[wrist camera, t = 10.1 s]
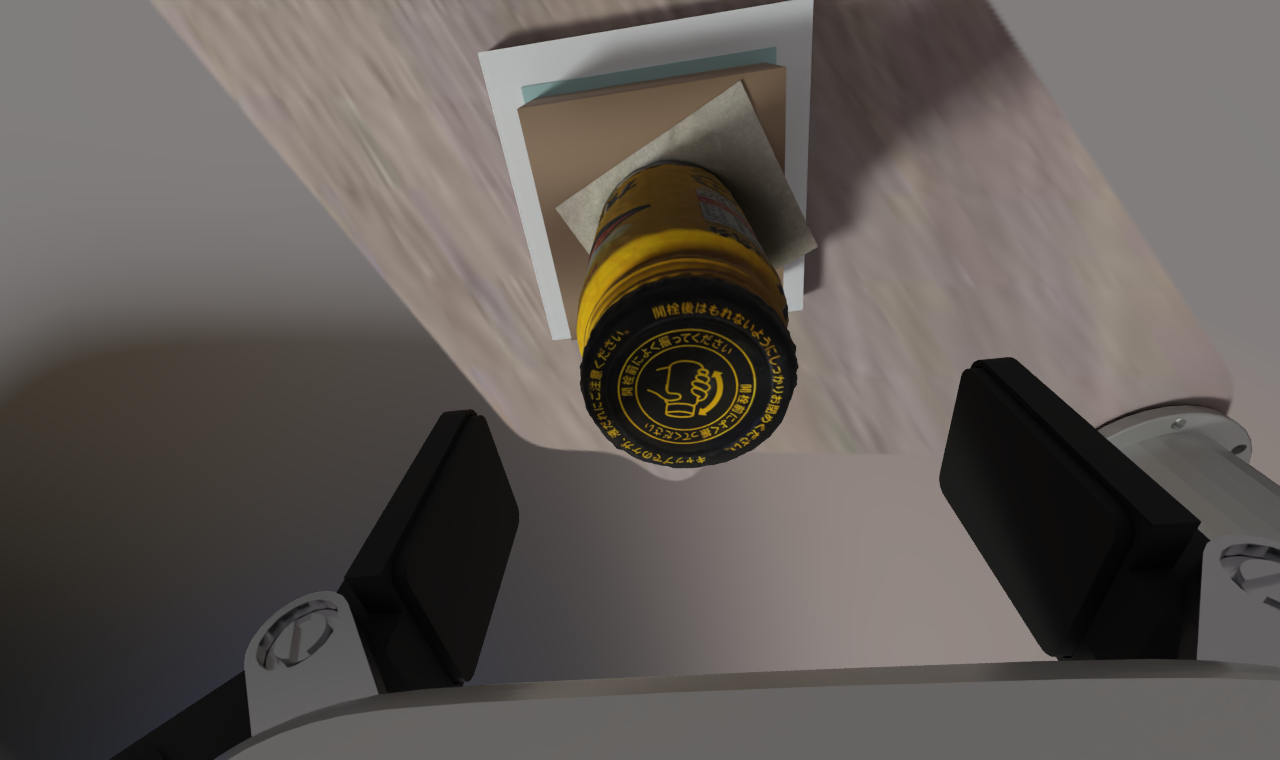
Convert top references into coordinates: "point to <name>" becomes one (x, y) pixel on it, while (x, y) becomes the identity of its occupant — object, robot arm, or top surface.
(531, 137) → the base block
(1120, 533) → the robot arm
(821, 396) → the top surface
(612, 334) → the condiment
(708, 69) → the build board
